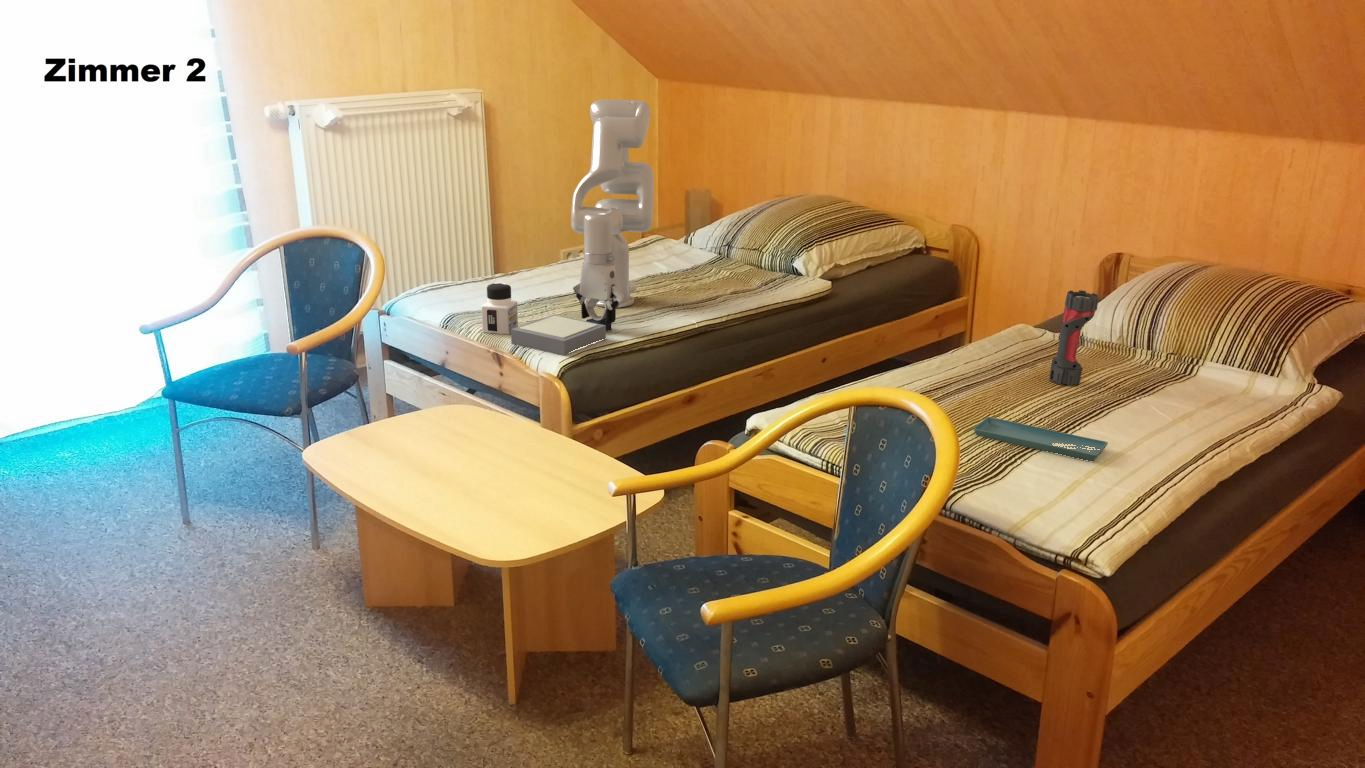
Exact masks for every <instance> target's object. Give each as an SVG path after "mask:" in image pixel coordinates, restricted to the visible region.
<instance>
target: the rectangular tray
mask: <svg viewBox="0 0 1365 768" xmlns="http://www.w3.org/2000/svg"><path fill="white" fill-rule="evenodd" d="M973 431H974V433H975V435H976V436H978V437H983V438H986V439H991V440H995V441H999V442H1003V443H1008V444H1011V443H1012V444H1011V445H1015V444H1016V445H1017V446H1021V447H1025V448H1028V447H1029V448H1030V449H1034V450H1038V451H1041V450H1042V451H1041V452H1046V451H1048V452H1047V453H1050V452H1053V453H1052V454H1054V453H1058V454H1062V455H1061V456H1063V455H1066V456H1065V457H1067V456H1070V457H1069V458H1071V457H1074V458H1073V459H1076V458H1079V459H1078V460H1080V459H1083V460H1082V461H1084V460H1088V461H1087V462H1089V461H1093V462H1094V461H1095V460H1096V459H1097V456H1098V457H1099V456H1100V455H1101V453H1103V451H1104V450H1105V448H1106V447H1107V446H1108V443H1109V442H1108V441H1105V440H1100V439H1095V438H1090V437H1086V436H1080V435H1076V434H1070V433H1066V432H1061V431H1056V430H1052V429H1048V428H1043V427H1038V426H1034V425H1029V424H1024V423H1021V422H1015V421H1010V420H1006V419H1002V418H1001V419H1000V418H996V417H991V416H987V417H985V418H984V419H983V420H982V421H980V423H977V425H975V426H974V427H973ZM1050 443H1051V444H1050ZM1052 443H1054V444H1055V443H1058V444H1059V443H1060V444H1062V443H1063V444H1064V445H1065V444H1067V445H1068V444H1070V445H1071V444H1073V445H1076V446H1068V447H1069V448H1070V447H1072V448H1074V447H1075V448H1076V449H1067V446H1065V447H1066V448H1064V446H1063V447H1060V446H1059V447H1058V446H1053V445H1052ZM1082 445H1083V446H1082ZM1085 446H1089V447H1095V449H1096V450H1094V448H1092V449H1093V450H1087V448H1088V447H1085ZM1077 447H1078V448H1077ZM1080 447H1081V448H1080ZM1029 448H1028V449H1029ZM1082 448H1086V449H1082ZM1089 449H1091V448H1089ZM1097 449H1100V450H1097ZM1089 451H1090V452H1089ZM1058 454H1057V455H1058Z"/></svg>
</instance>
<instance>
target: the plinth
mask: <svg viewBox="0 0 1365 768" xmlns="http://www.w3.org/2000/svg"><path fill="white" fill-rule="evenodd" d="M605 338H606V339H607V331H606V325H602V324H597V323H592V322H587V321H586V320H581V319H577V318H573V317H568V316H567V317H566V316H562V315H558V314H551V315H549V316H546V317H543V318H539V319H536V320H533V321H532V322H529V323H528V322H527V323H525V324H522V325H518V327H516V328H513V329H511V333H510V339H511V340H510V341H511V343H510V344H511V345H516V346H520V347H524V348H529V349H534V350H538V351H542V352H547V353H551V354H553V355H554V354H555V355H559V356H563V357H566V356H567V355H566V354H568V353H569V352H571V351H573V350H575V349H578V348H580V347H583V346H586V345H588V344H591V343H593V342H596V341H599V340H602V339H605ZM568 355H569V354H568Z"/></svg>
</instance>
